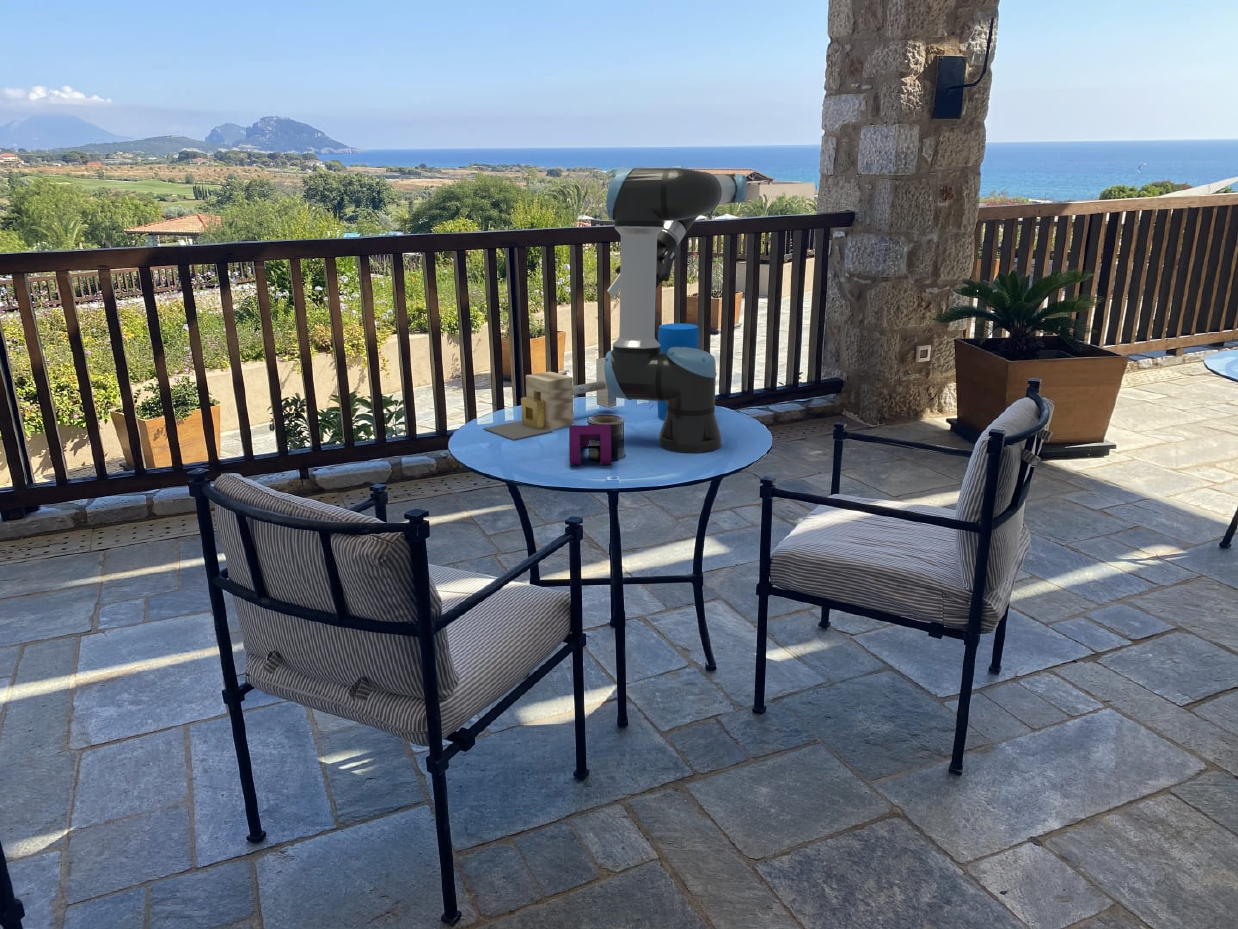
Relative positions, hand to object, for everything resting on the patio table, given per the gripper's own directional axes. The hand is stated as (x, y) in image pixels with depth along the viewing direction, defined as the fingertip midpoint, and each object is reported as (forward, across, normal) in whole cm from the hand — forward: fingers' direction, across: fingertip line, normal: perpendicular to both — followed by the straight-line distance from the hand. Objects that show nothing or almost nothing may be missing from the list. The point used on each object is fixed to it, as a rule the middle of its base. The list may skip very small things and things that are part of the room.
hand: (626, 296), depth 242 cm
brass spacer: (+45, 0, +1) cm, 45 cm away
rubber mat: (+49, 0, +4) cm, 49 cm away
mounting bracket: (+49, -30, +3) cm, 58 cm away
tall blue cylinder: (+20, -17, -25) cm, 36 cm away
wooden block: (+41, 0, -3) cm, 42 cm away
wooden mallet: (+33, 0, -9) cm, 34 cm away
